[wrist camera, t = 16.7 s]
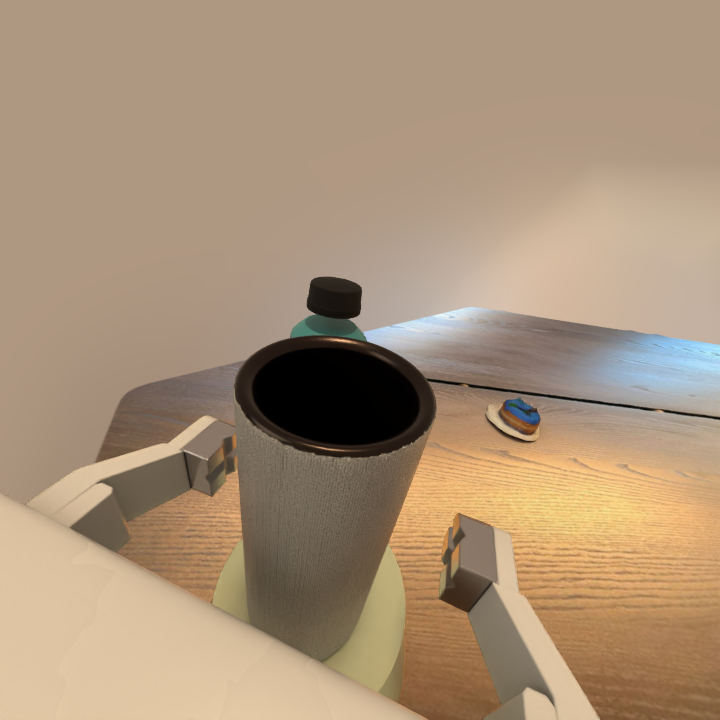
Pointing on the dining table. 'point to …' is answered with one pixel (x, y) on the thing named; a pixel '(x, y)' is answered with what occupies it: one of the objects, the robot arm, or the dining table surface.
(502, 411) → the dessert
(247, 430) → the grey tumbler
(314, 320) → the beverage bottle
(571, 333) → the dining table surface
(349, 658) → the pale green two-tone container
